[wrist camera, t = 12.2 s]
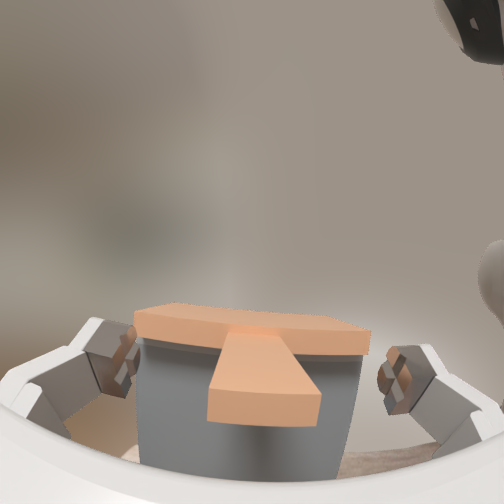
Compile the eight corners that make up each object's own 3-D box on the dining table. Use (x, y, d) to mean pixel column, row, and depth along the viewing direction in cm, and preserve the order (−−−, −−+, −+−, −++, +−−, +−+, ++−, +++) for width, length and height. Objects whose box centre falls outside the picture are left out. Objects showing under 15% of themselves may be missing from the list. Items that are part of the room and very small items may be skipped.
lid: (324, 331, 31) (326, 315, 31) (465, 403, 8) (474, 363, 8) (172, 318, 31) (174, 302, 31) (36, 375, 8) (34, 330, 8)
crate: (291, 477, 34) (316, 324, 37) (310, 547, 18) (364, 349, 21) (176, 468, 34) (181, 312, 37) (151, 535, 18) (137, 330, 21)
